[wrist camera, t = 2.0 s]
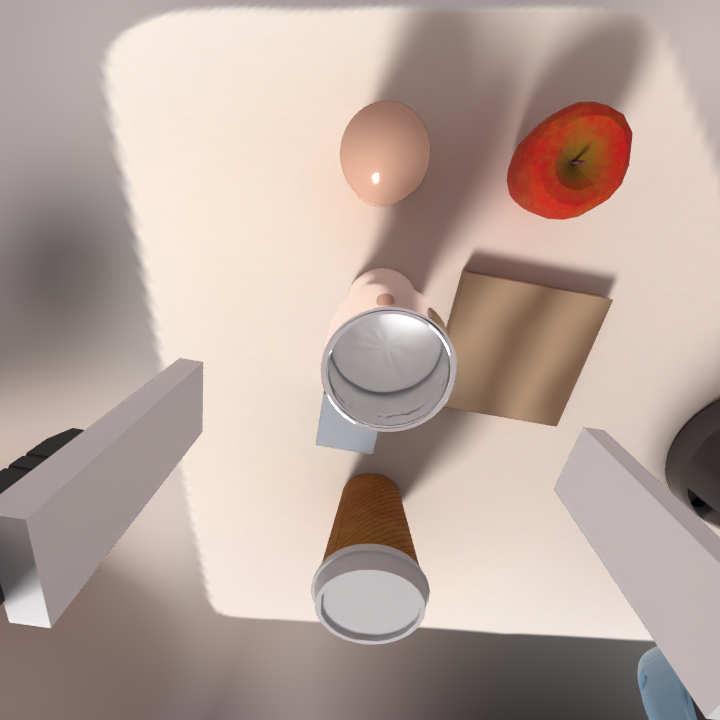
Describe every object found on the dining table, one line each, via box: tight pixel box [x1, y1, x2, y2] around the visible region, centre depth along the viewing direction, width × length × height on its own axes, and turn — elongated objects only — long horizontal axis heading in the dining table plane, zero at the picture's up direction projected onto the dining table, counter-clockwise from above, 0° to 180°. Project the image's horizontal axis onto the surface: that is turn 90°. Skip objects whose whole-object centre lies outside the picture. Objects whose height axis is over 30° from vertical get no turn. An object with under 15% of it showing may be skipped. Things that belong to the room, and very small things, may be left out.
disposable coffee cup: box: [311, 474, 430, 644], centre depth 33 cm, size 10×10×12 cm
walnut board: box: [444, 270, 613, 427], centre depth 32 cm, size 12×12×2 cm
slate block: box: [316, 390, 378, 455], centre depth 32 cm, size 5×5×5 cm
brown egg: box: [340, 101, 431, 207], centre depth 24 cm, size 5×5×8 cm
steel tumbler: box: [321, 268, 457, 432], centre depth 24 cm, size 7×7×15 cm
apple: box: [507, 102, 633, 219], centre depth 24 cm, size 6×6×8 cm
